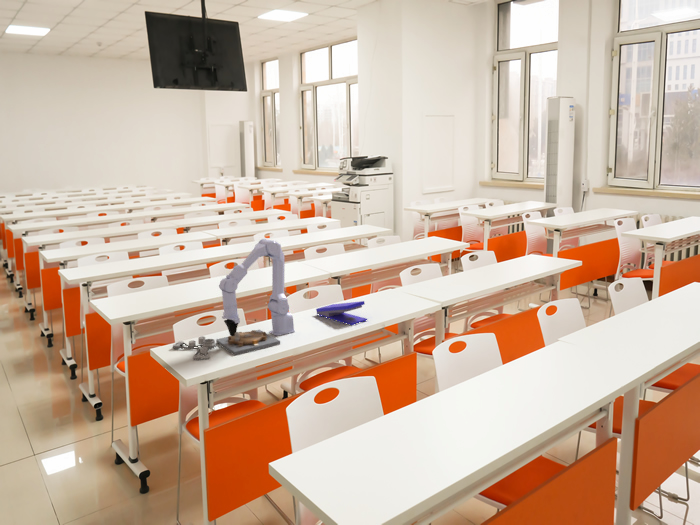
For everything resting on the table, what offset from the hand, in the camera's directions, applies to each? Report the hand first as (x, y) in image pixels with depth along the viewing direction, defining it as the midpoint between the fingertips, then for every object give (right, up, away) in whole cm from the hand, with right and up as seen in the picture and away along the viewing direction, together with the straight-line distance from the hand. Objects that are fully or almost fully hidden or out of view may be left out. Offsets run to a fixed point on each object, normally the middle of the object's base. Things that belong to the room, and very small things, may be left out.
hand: (233, 335), depth 246 cm
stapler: (+47, +4, +33) cm, 58 cm away
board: (+6, -4, +2) cm, 7 cm away
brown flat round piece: (+6, -2, +1) cm, 7 cm away
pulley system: (-14, -7, -3) cm, 16 cm away
